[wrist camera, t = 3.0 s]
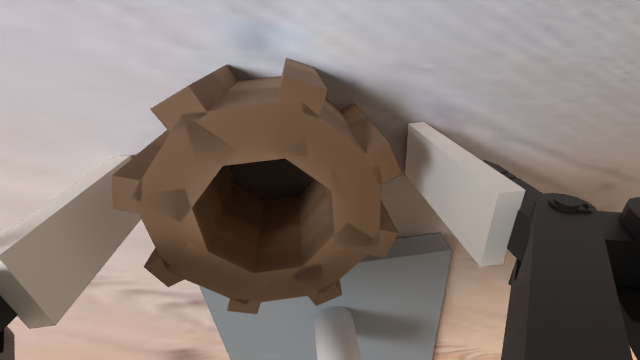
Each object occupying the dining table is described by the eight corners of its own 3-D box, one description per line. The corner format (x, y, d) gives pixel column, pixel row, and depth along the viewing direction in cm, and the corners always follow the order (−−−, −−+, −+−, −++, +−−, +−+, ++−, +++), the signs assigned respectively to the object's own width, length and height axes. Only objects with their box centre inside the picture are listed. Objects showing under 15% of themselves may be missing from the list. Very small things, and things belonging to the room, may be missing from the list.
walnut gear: (145, 72, 11) (54, 100, 7) (364, 50, 12) (409, 62, 7) (207, 242, 16) (175, 325, 11) (365, 222, 16) (394, 295, 12)
